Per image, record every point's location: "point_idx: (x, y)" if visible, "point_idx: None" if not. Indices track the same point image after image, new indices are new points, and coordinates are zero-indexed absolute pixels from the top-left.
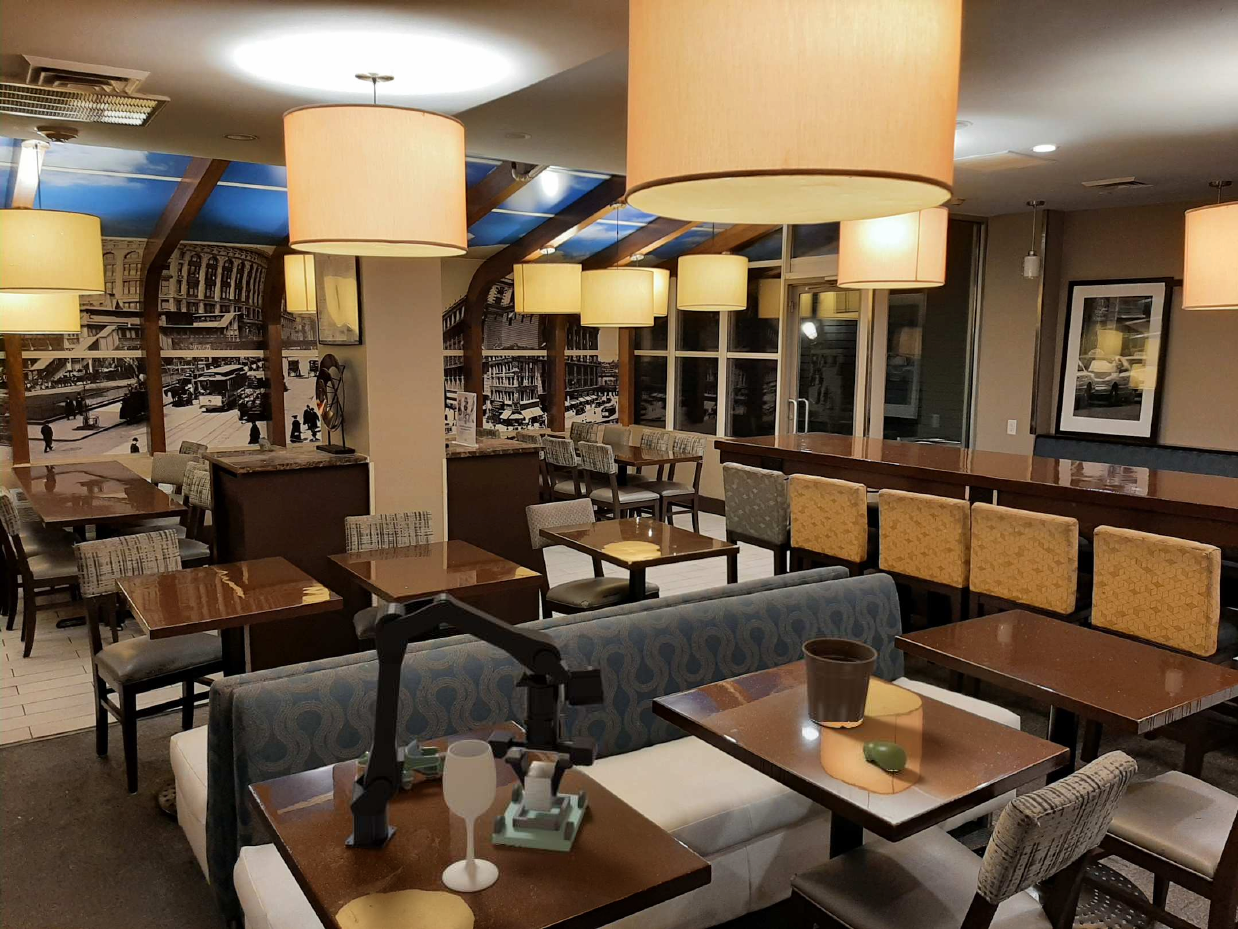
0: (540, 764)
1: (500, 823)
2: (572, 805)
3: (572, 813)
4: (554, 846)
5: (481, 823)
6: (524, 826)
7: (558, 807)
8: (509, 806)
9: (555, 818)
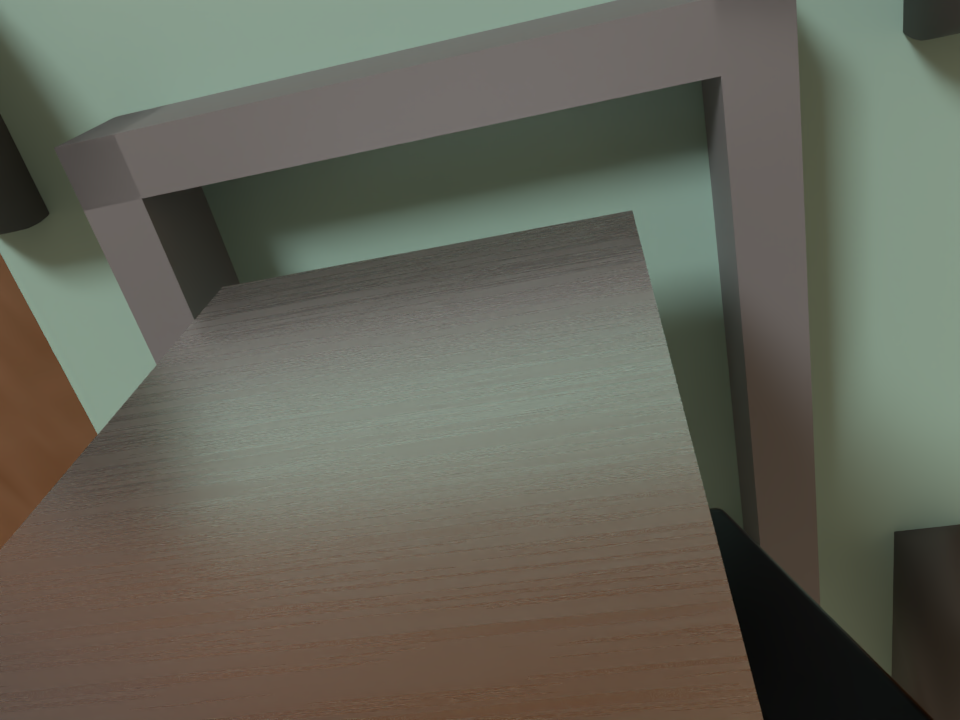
0: None
1: None
2: (810, 7)
3: (865, 227)
4: None
5: (7, 501)
6: None
7: (622, 149)
8: (54, 339)
9: (682, 403)
